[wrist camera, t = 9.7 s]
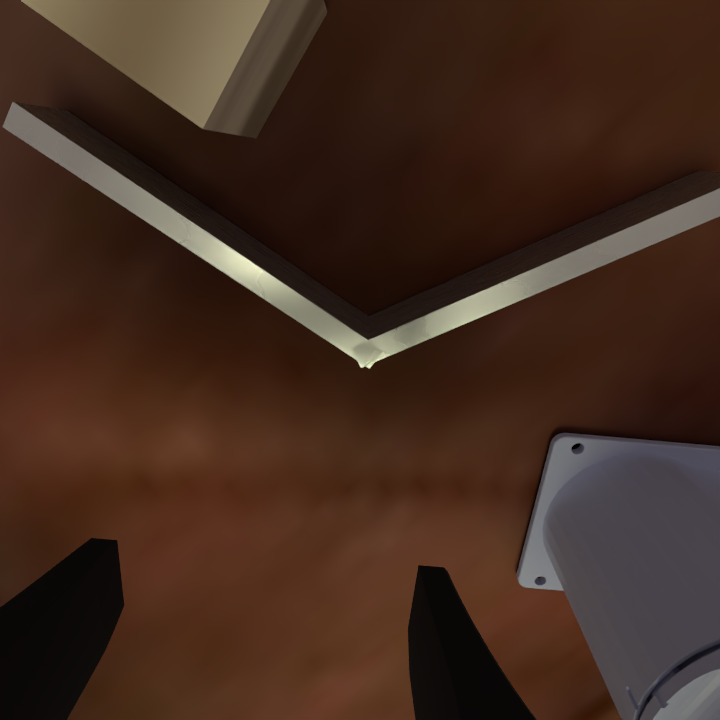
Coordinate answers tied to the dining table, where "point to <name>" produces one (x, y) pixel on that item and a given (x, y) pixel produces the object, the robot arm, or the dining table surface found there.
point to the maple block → (198, 50)
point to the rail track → (319, 304)
